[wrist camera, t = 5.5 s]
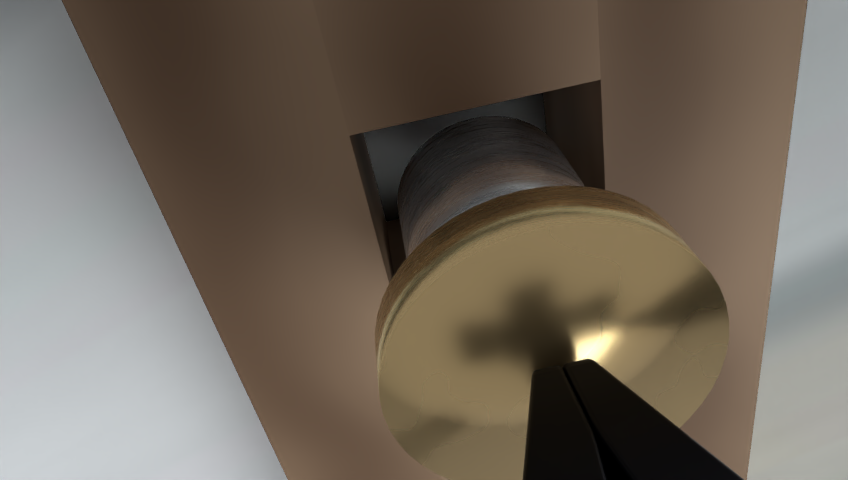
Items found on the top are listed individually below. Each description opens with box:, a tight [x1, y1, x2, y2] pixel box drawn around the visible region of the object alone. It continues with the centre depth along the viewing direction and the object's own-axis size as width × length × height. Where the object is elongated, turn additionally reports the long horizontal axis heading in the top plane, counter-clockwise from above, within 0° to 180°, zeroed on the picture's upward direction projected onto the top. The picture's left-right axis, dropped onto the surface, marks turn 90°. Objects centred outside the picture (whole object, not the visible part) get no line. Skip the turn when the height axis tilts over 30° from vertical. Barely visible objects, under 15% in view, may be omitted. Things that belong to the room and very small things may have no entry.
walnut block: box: [62, 0, 808, 480], centre depth 19 cm, size 12×26×4 cm, turn 11°
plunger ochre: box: [375, 116, 729, 480], centre depth 12 cm, size 5×5×5 cm
